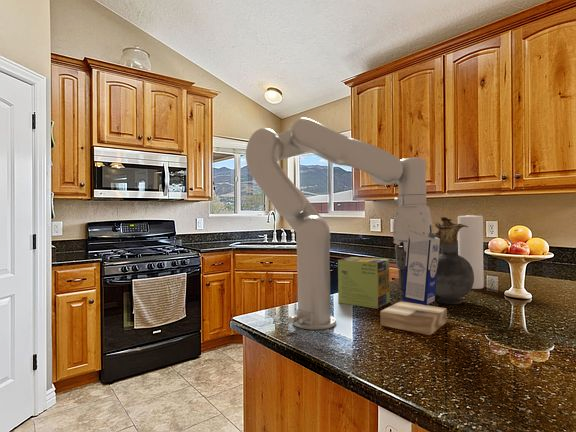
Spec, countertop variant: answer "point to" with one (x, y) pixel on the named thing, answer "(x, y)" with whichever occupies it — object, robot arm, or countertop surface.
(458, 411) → the countertop surface
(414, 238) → the milk carton
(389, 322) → the oak block
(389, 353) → the countertop surface
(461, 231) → the cylinder container
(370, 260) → the protein box
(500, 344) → the countertop surface
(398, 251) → the planter
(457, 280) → the pitcher
